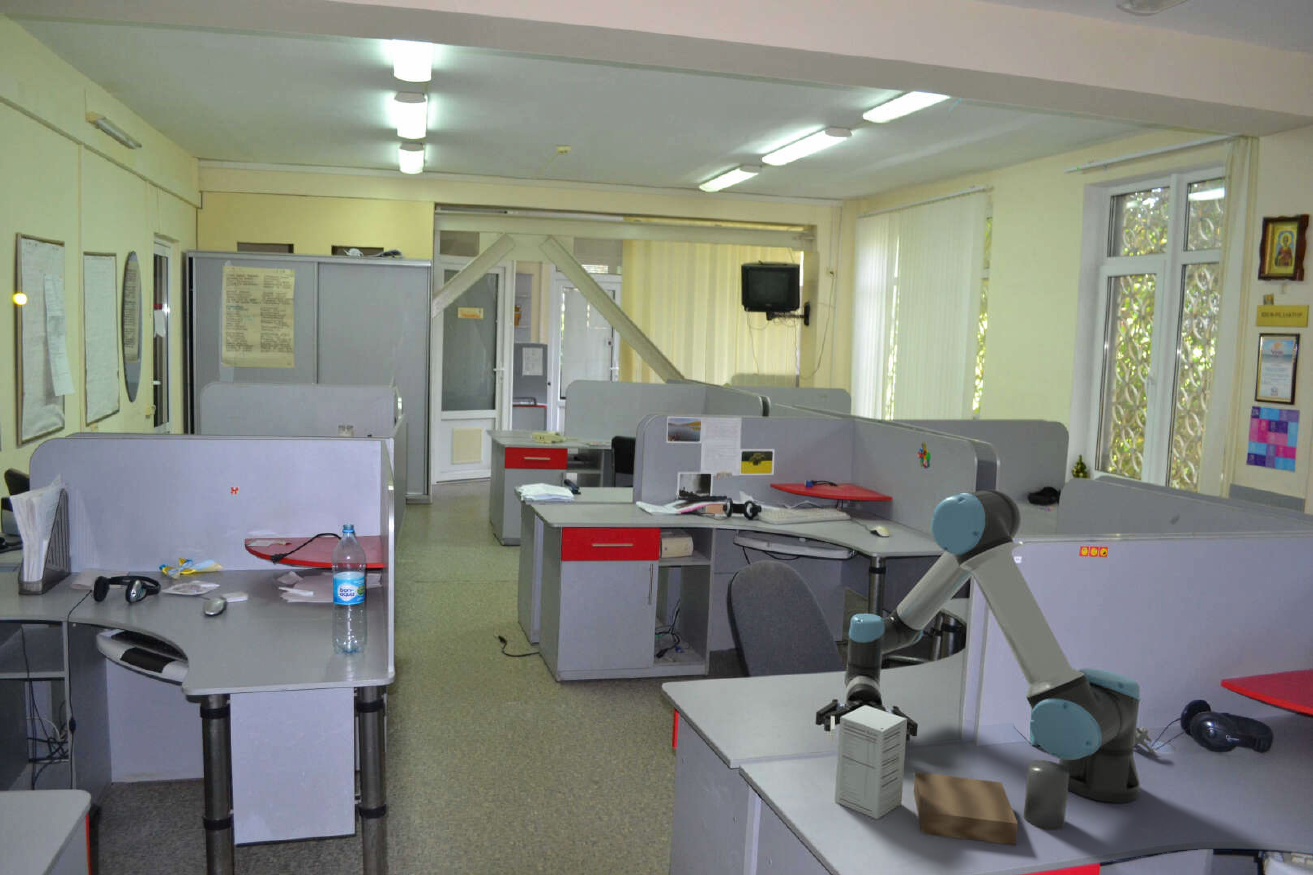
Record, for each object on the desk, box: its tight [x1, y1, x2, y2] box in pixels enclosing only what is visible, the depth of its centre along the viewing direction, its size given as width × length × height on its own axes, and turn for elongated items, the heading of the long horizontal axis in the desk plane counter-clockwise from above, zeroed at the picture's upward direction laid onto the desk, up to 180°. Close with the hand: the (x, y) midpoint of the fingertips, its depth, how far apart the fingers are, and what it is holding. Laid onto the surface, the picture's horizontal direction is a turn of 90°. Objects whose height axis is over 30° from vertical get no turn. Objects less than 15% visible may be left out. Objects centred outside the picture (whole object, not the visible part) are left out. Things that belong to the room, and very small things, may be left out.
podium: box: [913, 771, 1019, 846], centre depth 180 cm, size 16×16×4 cm
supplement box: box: [834, 705, 907, 820], centre depth 183 cm, size 10×9×17 cm
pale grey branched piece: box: [1134, 725, 1157, 756], centre depth 215 cm, size 10×6×9 cm
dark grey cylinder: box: [1023, 759, 1069, 831], centre depth 180 cm, size 7×7×10 cm
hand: (867, 739), depth 191 cm, fingers open, 13 cm apart
